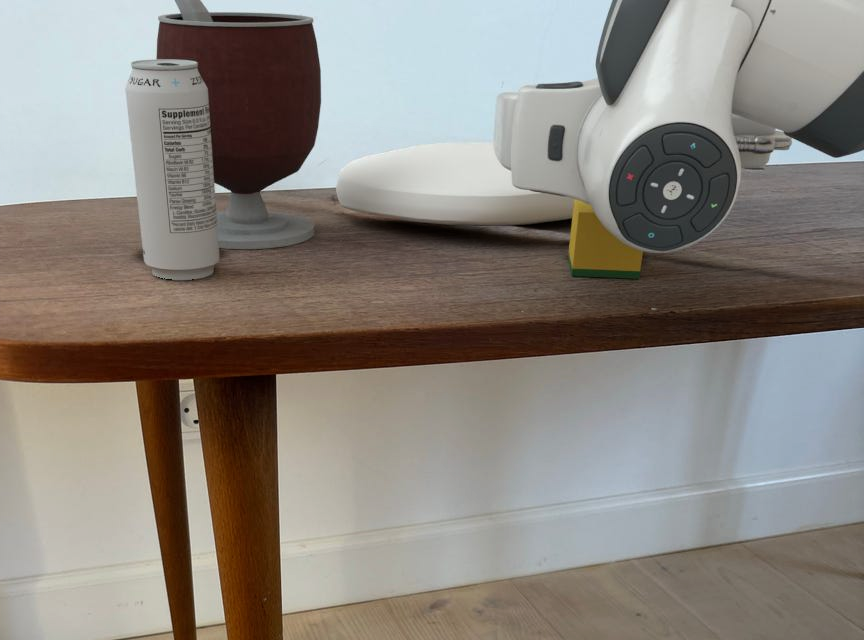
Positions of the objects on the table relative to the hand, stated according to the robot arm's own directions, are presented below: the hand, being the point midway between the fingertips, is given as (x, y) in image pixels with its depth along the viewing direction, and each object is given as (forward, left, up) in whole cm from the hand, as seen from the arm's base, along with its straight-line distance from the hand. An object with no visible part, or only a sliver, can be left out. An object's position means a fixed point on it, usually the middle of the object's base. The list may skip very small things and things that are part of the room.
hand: (622, 113), depth 83 cm
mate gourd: (+33, +6, -12) cm, 35 cm away
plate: (+17, -12, -12) cm, 24 cm away
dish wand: (0, +1, -12) cm, 12 cm away
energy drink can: (+29, +20, -12) cm, 37 cm away
